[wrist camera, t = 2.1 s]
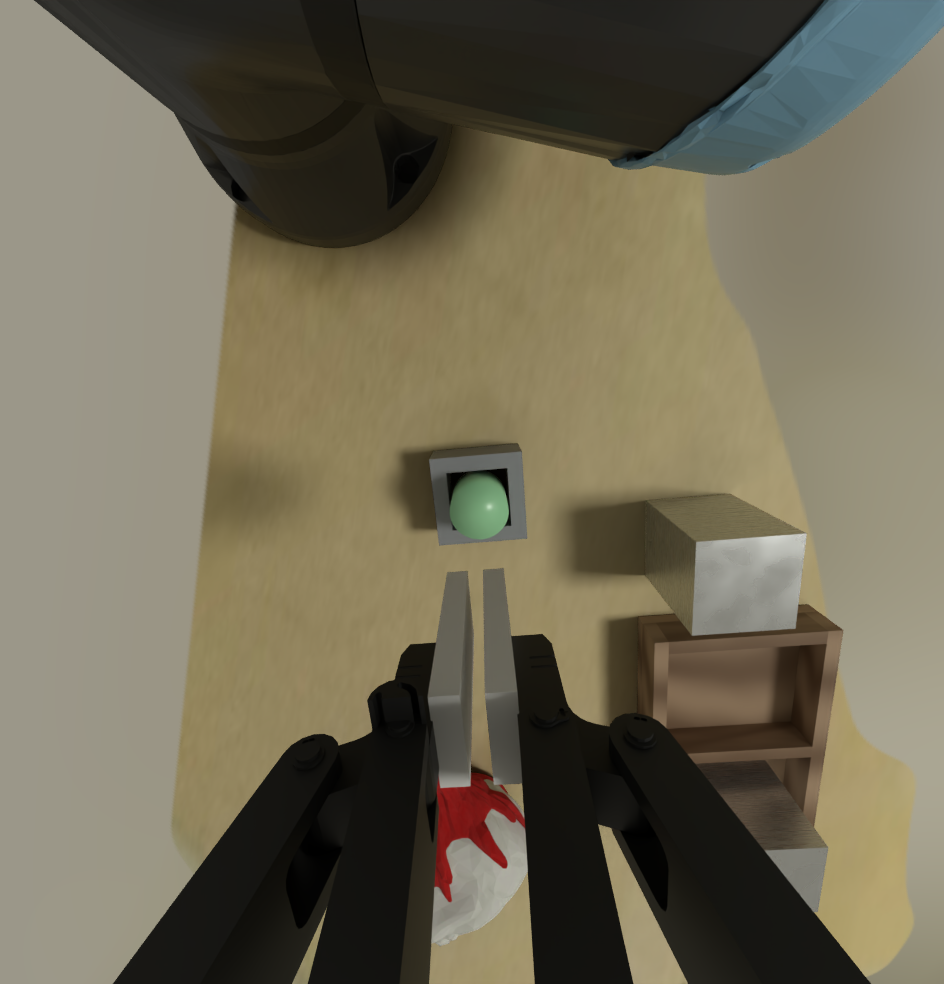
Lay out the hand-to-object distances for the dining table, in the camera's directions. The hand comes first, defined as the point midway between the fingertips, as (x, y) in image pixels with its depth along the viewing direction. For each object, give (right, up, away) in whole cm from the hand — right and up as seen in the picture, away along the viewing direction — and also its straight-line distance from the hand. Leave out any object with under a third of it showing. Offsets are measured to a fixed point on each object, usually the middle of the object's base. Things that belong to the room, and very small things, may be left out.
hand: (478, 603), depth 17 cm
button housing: (0, +4, +16) cm, 16 cm away
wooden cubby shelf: (+20, -15, +21) cm, 33 cm away
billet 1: (+16, +1, +17) cm, 23 cm away
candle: (-1, -23, +24) cm, 33 cm away
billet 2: (+21, -20, +21) cm, 36 cm away
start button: (0, +4, +14) cm, 14 cm away
